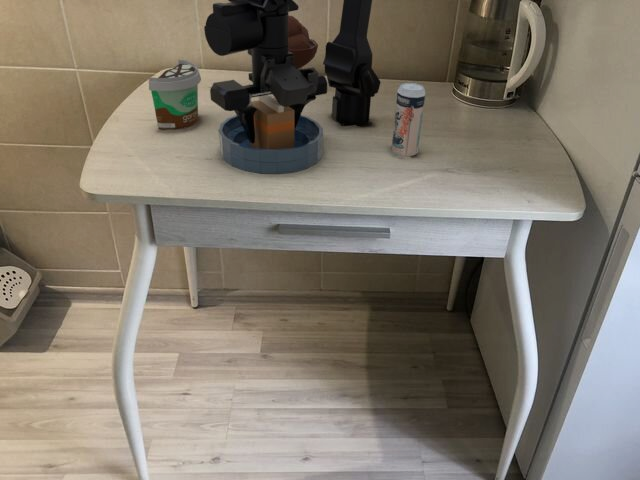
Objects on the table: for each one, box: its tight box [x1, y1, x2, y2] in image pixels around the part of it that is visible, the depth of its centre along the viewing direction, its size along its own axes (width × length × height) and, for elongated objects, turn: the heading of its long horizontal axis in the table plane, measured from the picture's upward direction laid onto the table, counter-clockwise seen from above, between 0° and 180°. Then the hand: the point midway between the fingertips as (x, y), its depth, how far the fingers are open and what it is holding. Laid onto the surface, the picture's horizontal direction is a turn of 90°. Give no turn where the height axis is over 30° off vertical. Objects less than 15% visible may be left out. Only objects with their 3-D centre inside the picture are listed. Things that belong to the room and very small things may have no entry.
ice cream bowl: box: [288, 15, 319, 69], centre depth 126 cm, size 11×11×15 cm
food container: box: [148, 58, 202, 131], centre depth 108 cm, size 12×6×10 cm, turn 168°
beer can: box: [391, 82, 427, 158], centre depth 103 cm, size 5×5×12 cm
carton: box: [250, 95, 294, 150], centre depth 100 cm, size 5×6×9 cm
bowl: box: [218, 114, 324, 175], centre depth 101 cm, size 17×17×4 cm
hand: (271, 138), depth 101 cm, fingers open, 7 cm apart
